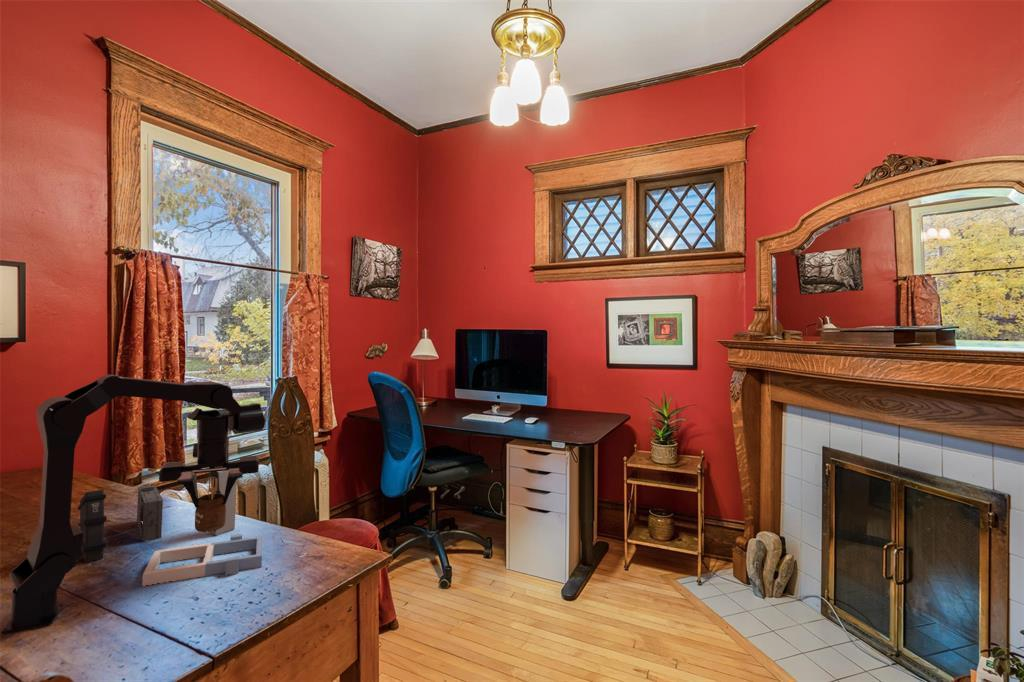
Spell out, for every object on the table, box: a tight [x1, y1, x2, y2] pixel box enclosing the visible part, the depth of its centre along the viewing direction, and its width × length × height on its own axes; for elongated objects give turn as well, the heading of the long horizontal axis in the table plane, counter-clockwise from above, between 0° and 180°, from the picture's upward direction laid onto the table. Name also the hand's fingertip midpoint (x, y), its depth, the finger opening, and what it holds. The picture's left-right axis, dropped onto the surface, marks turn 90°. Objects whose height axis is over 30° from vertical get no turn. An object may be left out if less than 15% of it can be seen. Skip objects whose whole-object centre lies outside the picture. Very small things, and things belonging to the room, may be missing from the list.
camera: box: [136, 484, 164, 542], centre depth 121 cm, size 16×4×10 cm, turn 44°
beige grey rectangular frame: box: [142, 533, 264, 587], centre depth 105 cm, size 14×22×3 cm, turn 118°
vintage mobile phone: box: [208, 436, 238, 536], centre depth 122 cm, size 4×5×25 cm
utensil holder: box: [194, 477, 226, 533], centre depth 105 cm, size 6×6×12 cm
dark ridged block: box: [77, 489, 107, 563], centre depth 108 cm, size 4×13×15 cm, turn 48°
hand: (211, 505), depth 105 cm, fingers closed on utensil holder, 5 cm apart
